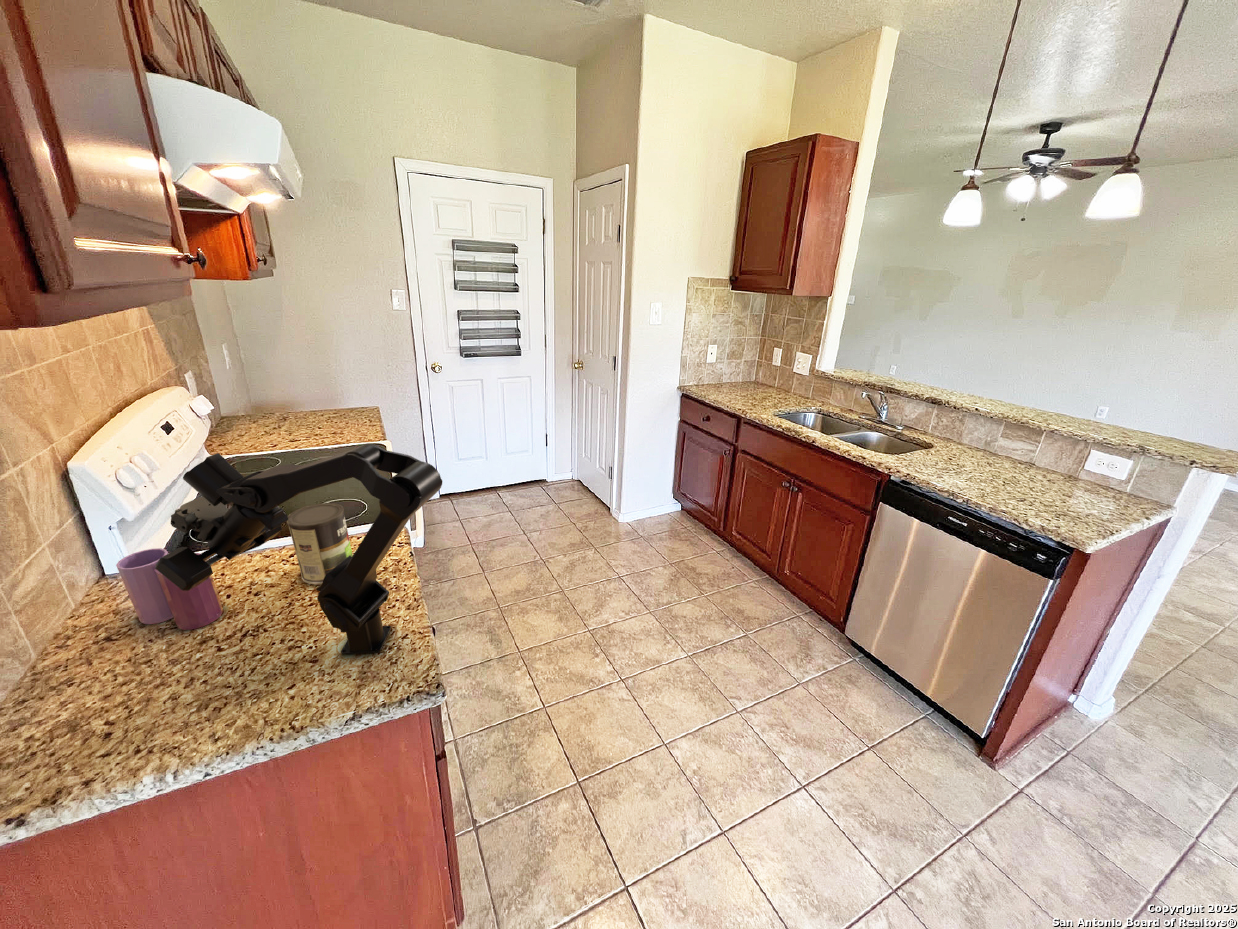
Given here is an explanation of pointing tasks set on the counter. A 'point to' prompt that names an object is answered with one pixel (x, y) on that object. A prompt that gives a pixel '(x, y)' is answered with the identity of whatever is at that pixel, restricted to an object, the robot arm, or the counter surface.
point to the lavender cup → (145, 585)
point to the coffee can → (319, 539)
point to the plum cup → (192, 603)
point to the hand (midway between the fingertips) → (204, 570)
